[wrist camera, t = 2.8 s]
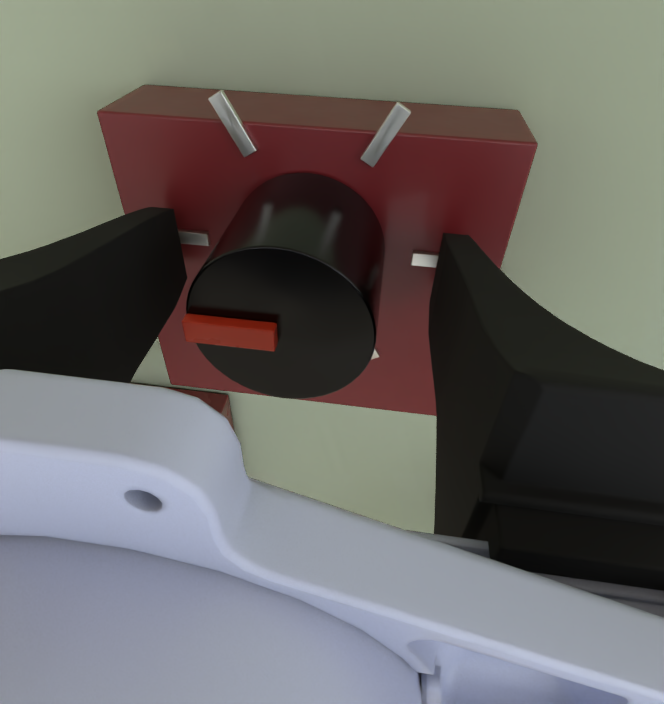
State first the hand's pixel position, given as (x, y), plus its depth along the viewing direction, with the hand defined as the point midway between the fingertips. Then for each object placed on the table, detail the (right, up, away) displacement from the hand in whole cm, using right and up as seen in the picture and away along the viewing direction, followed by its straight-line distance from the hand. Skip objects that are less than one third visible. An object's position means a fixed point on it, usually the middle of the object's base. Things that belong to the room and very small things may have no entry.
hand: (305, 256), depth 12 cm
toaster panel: (0, +1, +3) cm, 3 cm away
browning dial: (0, 0, 0) cm, 0 cm away
